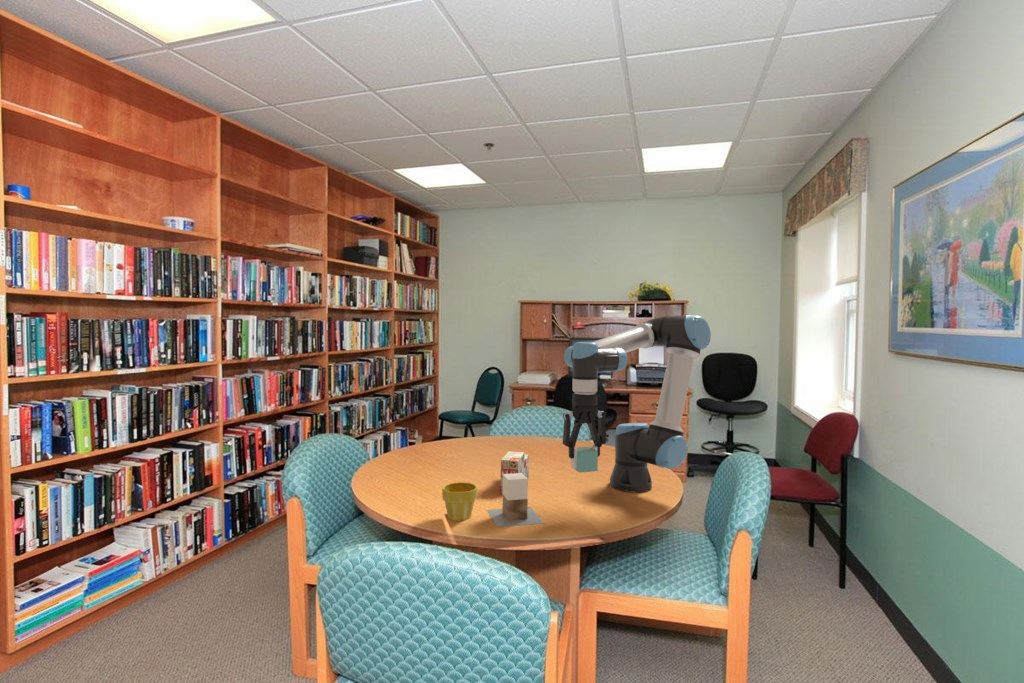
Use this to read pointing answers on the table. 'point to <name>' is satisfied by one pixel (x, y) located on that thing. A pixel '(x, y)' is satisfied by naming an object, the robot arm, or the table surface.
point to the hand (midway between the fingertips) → (584, 467)
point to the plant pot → (459, 499)
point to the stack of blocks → (514, 465)
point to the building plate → (502, 521)
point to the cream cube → (515, 486)
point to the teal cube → (587, 459)
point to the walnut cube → (515, 509)
